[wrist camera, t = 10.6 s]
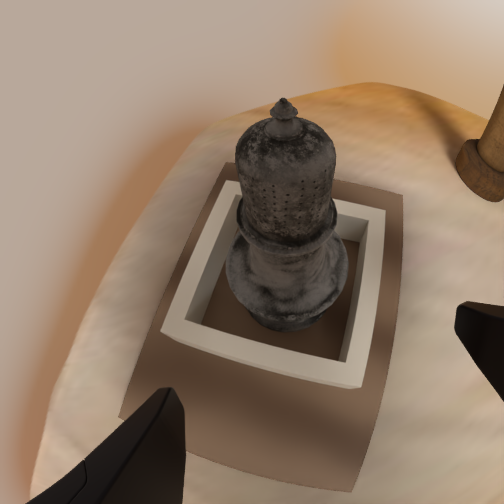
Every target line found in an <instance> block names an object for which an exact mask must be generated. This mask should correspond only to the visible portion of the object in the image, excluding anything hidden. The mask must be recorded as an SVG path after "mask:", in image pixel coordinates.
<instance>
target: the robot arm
mask: <svg viewBox="0 0 504 504" xmlns="http://www.w3.org/2000/svg"><path fill="white" fill-rule="evenodd" d="M454 329H455V333H456V335H457V336H458V337H459V339H460V340H461V342H462V343H463V345H464V347H465V348H466V350H467V351H468V353H469V354H470V356H471V357H472V359H473V361H474V362H475V364H476V365H477V366H478V368H479V369H480V370H481V372H482V373H483V374H484V376H485V377H486V378H487V380H488V381H489V382H490V384H491V385H492V386H493V388H494V389H495V390H496V392H497V393H498V395H499V396H500V397H501V399H502V400H503V402H504V306H498V305H491V304H484V303H477V302H470V301H466V302H464V303H462V304H460V305H459V306H458V307H457V310H456V318H455V325H454ZM185 462H186V440H185V411H184V407H183V405H182V403H181V401H180V399H179V397H178V395H177V393H176V391H175V390H174V388H173V387H162V388H158V389H157V390H156V391H155V392H154V393H153V394H152V395H151V396H150V397H149V398H148V399H147V400H146V401H145V402H144V403H143V404H142V405H141V406H140V407H139V408H138V409H137V410H136V411H135V412H134V413H132V414H131V415H130V416H129V417H128V418H127V419H126V420H125V421H124V422H123V423H122V424H121V425H120V426H119V427H118V428H117V429H116V430H115V431H114V432H113V433H111V434H110V435H109V436H108V437H107V438H106V439H105V440H104V441H103V442H102V443H101V444H100V445H99V446H98V447H96V448H95V449H94V450H93V451H92V452H91V453H90V454H89V455H88V456H87V457H86V458H85V460H82V461H81V462H80V463H79V464H78V465H77V466H76V467H75V468H73V469H72V470H71V471H70V472H69V473H68V474H66V475H65V476H64V477H63V478H61V479H60V480H59V481H57V482H56V483H55V484H53V485H52V486H51V487H49V488H48V489H46V490H45V491H44V492H42V493H41V494H39V495H38V496H36V497H35V498H33V499H32V500H30V501H29V502H27V503H26V504H182V501H183V487H184V474H185Z"/></svg>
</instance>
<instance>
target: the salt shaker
mask: <svg viewBox="0 0 504 504" xmlns="http://www.w3.org/2000/svg"><path fill="white" fill-rule="evenodd" d="M297 114H298V111H297V109H296V108H295V107H293V106H292V104H291V103H290V102H288V101H287V99H285V98H281V99H280V100H279V101H278V102H277V103H276V104H275V106H274V107H273V108H272V109H271V110H270V115H271V116H272V118H267V119H264V120H261V121H259V122H257V123H255V124H254V125H252V126H250V127H249V128H248V129H247V130H246V131H245V133H244V134H243V135H242V136H241V138H240V139H239V141H238V143H237V146H236V152H235V164H236V169H237V173H238V178H239V183H240V188H241V192H242V198H241V199H240V201H239V204H238V207H237V210H236V221H237V224H238V227H239V230H240V231H239V232H238V233H237V234H236V236H235V238H234V239H233V241H232V242H231V244H230V246H229V250H228V253H227V256H226V275H227V279H228V282H229V286H230V288H231V290H232V291H233V293H234V294H235V296H236V298H237V299H238V301H239V302H241V303H242V304H243V305H244V306H245V307H246V309H247V310H248V312H249V313H250V315H251V317H252V318H253V319H255V320H256V321H257V322H258V323H259V324H260V325H262V326H264V327H266V328H268V329H270V330H273V331H278V332H284V333H285V332H297V331H300V330H303V329H305V328H308V327H310V326H311V325H313V324H314V323H316V322H317V321H318V320H319V319H320V318H321V317H322V316H323V314H324V313H325V312H326V310H327V308H328V307H329V306H331V305H332V304H333V302H334V301H335V300H336V299H337V297H338V296H339V295H340V294H341V292H342V290H343V287H344V285H345V282H346V280H347V277H348V266H349V262H348V257H347V252H346V248H345V246H344V244H343V242H342V240H341V238H340V236H339V235H338V234H337V233H336V232H335V231H334V230H335V227H336V225H337V214H338V213H337V209H336V205H335V202H334V201H333V199H332V197H331V191H332V184H333V178H334V172H335V165H336V152H335V147H334V144H333V142H332V140H331V139H330V137H329V136H328V135H327V134H326V132H325V131H324V130H323V129H322V128H321V127H319V126H318V125H317V124H315V123H313V122H311V121H309V120H306V119H303V118H298V117H295V116H296V115H297Z"/></svg>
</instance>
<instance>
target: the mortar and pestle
mask: <svg viewBox="0 0 504 504" xmlns="http://www.w3.org/2000/svg"><path fill="white" fill-rule="evenodd" d="M456 167H457V170H458V173H459V175H460V176H461V178H462V180H463V181H464V182H465V184H466V185H467V186H468V187H469V188H470V189H471V190H472V191H474V192H475V193H476V194H477V195H479V196H480V197H482V198H484V199H486V200H488V201H491V202H499V201H501V200H503V199H504V86H503V89H502V91H501V94H500V97H499V99H498V102H497V104H496V106H495V109H494V111H493V114H492V116H491V118H490V120H489V122H488V124H487V126H486V129H485V131H484V133H483V135H482V137H481V139H470V140H467V141H466V142H465V143H464V145H463V146H462V148H461V150H460V152H459V154H458V156H457V159H456Z"/></svg>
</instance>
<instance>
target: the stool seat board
mask: <svg viewBox="0 0 504 504" xmlns="http://www.w3.org/2000/svg"><path fill="white" fill-rule="evenodd" d="M331 197H332V199H333V201H334V202H335V205H336V209H337V213H338V214H337V225H336V227H335V230H334V231H335V232H336V233H337V234H338V235H339V236H340V238H341V240H342V242H343V244H344V246H345V248H346V252H347V257H348V262H349V266H348V277H347V280H346V282H345V285H344V287H343V290H342V292H341V294H340V295H339V296H338V297H337V299H336V300H335V301H334V302H333V304H332V305H331V306H329V307H328V308H327V310H326V312H325V313H324V314H323V316H322V317H321V318H320V319H319V320H318V321H317V322H316V323H314V324H313V325H311V326H310V327H308V328H305V329H303V330H300V331H297V332H285V333H284V332H278V331H273V330H270V329H268V328H266V327H264V326H262V325H260V324H259V323H258V322H257V321H256V320H255V319H253V318H252V317H251V315H250V313H249V312H248V310H247V309H246V307H245V306H244V305H243V304H242V303H241V302H239V301H238V299H237V298H236V296H235V294H234V293H233V291H232V290H231V288H230V286H229V282H228V279H227V275H226V256H227V253H228V250H229V246H230V244H231V242H232V241H233V239H234V238H235V236H236V234H237V233H238V232H239V231H240V230H239V227H238V224H237V221H236V210H237V207H238V204H239V201H240V199H241V198H242V192H241V188H240V183H239V178H238V173H237V169H236V164H235V163H228V162H226V163H225V165H224V167H223V169H222V171H221V173H220V175H219V177H218V179H217V181H216V183H215V185H214V187H213V189H212V191H211V193H210V195H209V197H208V199H207V201H206V203H205V205H204V207H203V209H202V211H201V213H200V215H199V217H198V219H197V221H196V224H195V226H194V228H193V230H192V232H191V234H190V236H189V239H188V241H187V243H186V245H185V247H184V249H183V252H182V254H181V256H180V258H179V261H178V263H177V265H176V267H175V270H174V272H173V274H172V277H171V279H170V281H169V283H168V286H167V288H166V291H165V293H164V295H163V298H162V300H161V302H160V305H159V307H158V310H157V312H156V315H155V317H154V320H153V322H152V325H151V327H150V330H149V332H148V335H147V337H146V340H145V343H144V345H143V348H142V350H141V353H140V356H139V358H138V361H137V364H136V367H135V369H134V372H133V375H132V378H131V381H130V383H129V386H128V389H127V392H126V395H125V398H124V401H123V404H122V407H121V410H120V413H119V416H118V417H119V418H121V419H122V420H124V421H125V420H126V419H127V418H128V417H129V416H130V415H131V414H132V413H134V412H135V411H136V410H137V409H138V408H139V407H140V406H141V405H142V404H143V403H144V402H145V401H146V400H147V399H148V398H149V397H150V396H151V395H152V394H153V393H154V392H155V391H156V390H157V389H158V388H162V387H173V388H174V390H175V391H176V393H177V395H178V397H179V399H180V401H181V403H182V405H183V407H184V411H185V440H186V451H188V452H190V453H192V454H195V455H197V456H200V457H203V458H205V459H208V460H211V461H213V462H216V463H219V464H222V465H225V466H228V467H231V468H234V469H237V470H240V471H244V472H247V473H250V474H254V475H258V476H261V477H265V478H269V479H273V480H278V481H282V482H287V483H291V484H296V485H302V486H307V487H313V488H319V489H326V490H334V491H343V492H352V490H353V487H354V485H355V482H356V480H357V477H358V474H359V472H360V469H361V466H362V464H363V461H364V458H365V455H366V452H367V449H368V446H369V443H370V440H371V436H372V433H373V430H374V426H375V423H376V419H377V416H378V412H379V408H380V404H381V400H382V396H383V392H384V388H385V383H386V379H387V374H388V369H389V364H390V358H391V353H392V347H393V341H394V334H395V328H396V320H397V312H398V304H399V294H400V282H401V268H402V248H403V195H400V194H396V193H392V192H388V191H384V190H380V189H376V188H372V187H367V186H363V185H358V184H354V183H349V182H345V181H340V180H335V179H333V184H332V191H331Z"/></svg>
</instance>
